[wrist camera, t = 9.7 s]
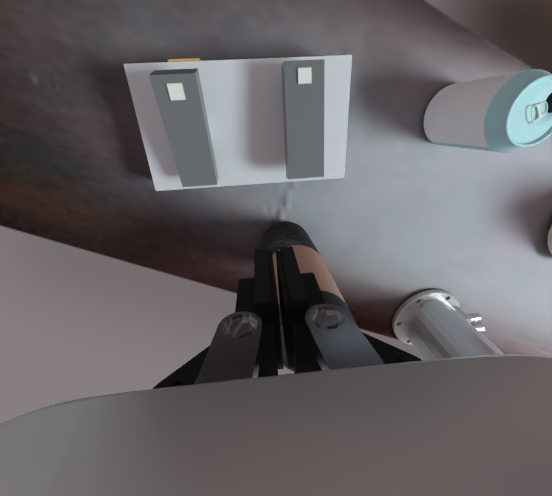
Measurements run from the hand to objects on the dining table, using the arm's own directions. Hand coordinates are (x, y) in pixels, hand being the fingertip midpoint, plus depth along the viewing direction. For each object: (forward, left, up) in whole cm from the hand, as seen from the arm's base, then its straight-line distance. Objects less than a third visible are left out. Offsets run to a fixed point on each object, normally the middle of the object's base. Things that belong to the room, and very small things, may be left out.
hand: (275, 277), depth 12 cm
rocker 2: (-5, -6, -18) cm, 20 cm away
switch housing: (+1, -6, -26) cm, 26 cm away
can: (-25, -6, -26) cm, 37 cm away
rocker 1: (+6, -6, -18) cm, 20 cm away
